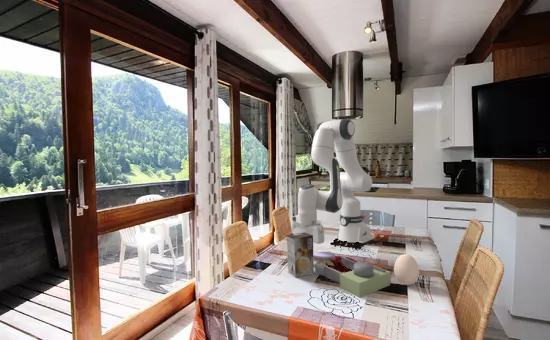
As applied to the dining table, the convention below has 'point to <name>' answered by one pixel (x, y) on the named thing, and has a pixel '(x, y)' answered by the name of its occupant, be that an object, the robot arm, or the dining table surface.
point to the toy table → (323, 257)
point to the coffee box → (300, 254)
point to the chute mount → (331, 272)
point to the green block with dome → (364, 279)
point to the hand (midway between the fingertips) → (307, 248)
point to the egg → (406, 269)
